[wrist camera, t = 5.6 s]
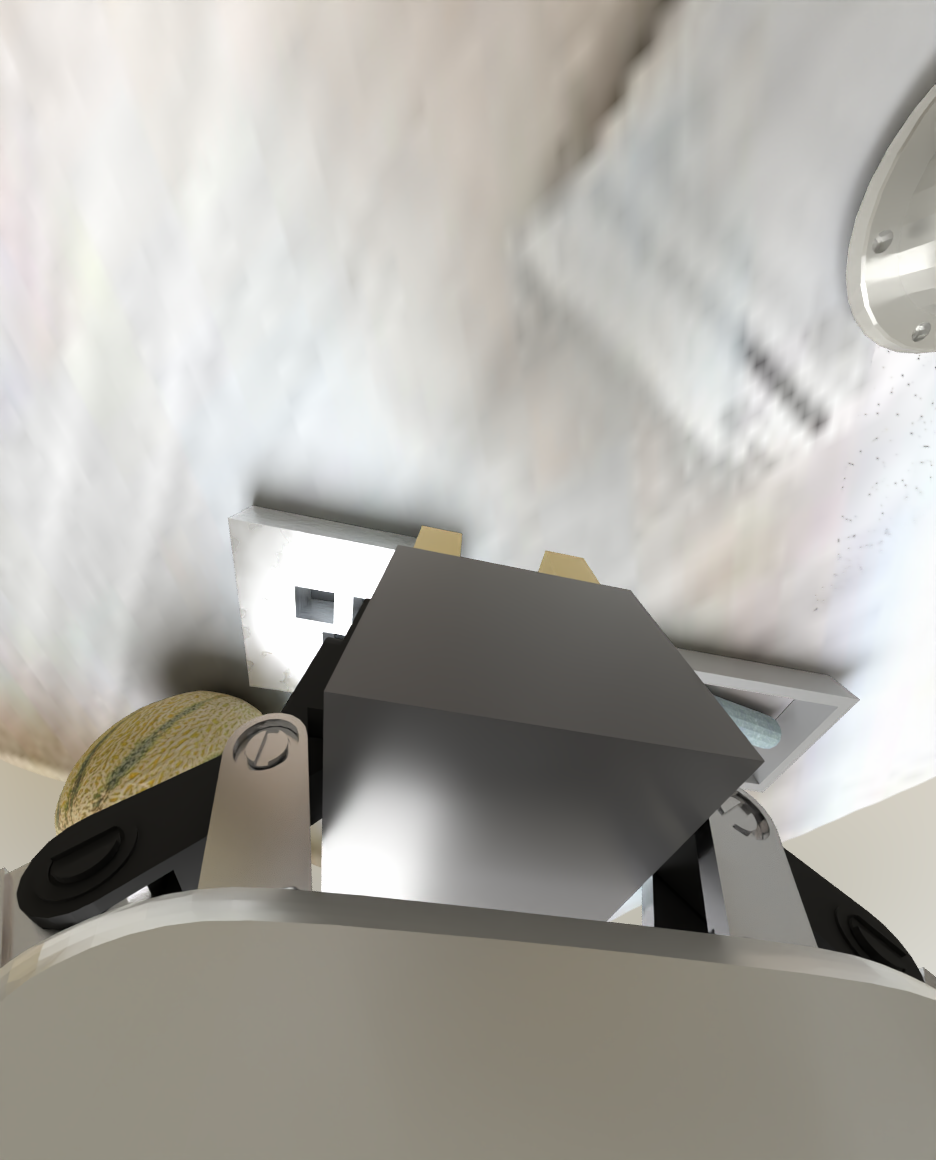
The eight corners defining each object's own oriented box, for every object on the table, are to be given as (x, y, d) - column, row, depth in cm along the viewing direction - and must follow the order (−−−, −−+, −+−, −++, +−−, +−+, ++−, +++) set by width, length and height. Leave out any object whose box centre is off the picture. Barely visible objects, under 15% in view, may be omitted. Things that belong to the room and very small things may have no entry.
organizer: (539, 622, 31) (545, 644, 28) (829, 675, 33) (859, 699, 31) (499, 728, 38) (501, 754, 35) (743, 766, 40) (762, 792, 38)
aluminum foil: (560, 663, 34) (568, 689, 31) (598, 610, 31) (612, 634, 28) (741, 727, 38) (764, 756, 35) (790, 686, 35) (819, 714, 32)
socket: (252, 505, 26) (228, 518, 24) (459, 546, 28) (458, 562, 25) (267, 663, 34) (249, 686, 31) (429, 689, 35) (425, 713, 32)
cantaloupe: (286, 770, 42) (200, 943, 29) (156, 731, 39) (-7, 905, 26) (319, 691, 36) (228, 867, 22) (166, 638, 33) (-44, 805, 19)
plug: (415, 509, 12) (323, 691, 5) (596, 547, 12) (765, 760, 5) (395, 654, 15) (320, 899, 8) (541, 679, 15) (598, 929, 8)
